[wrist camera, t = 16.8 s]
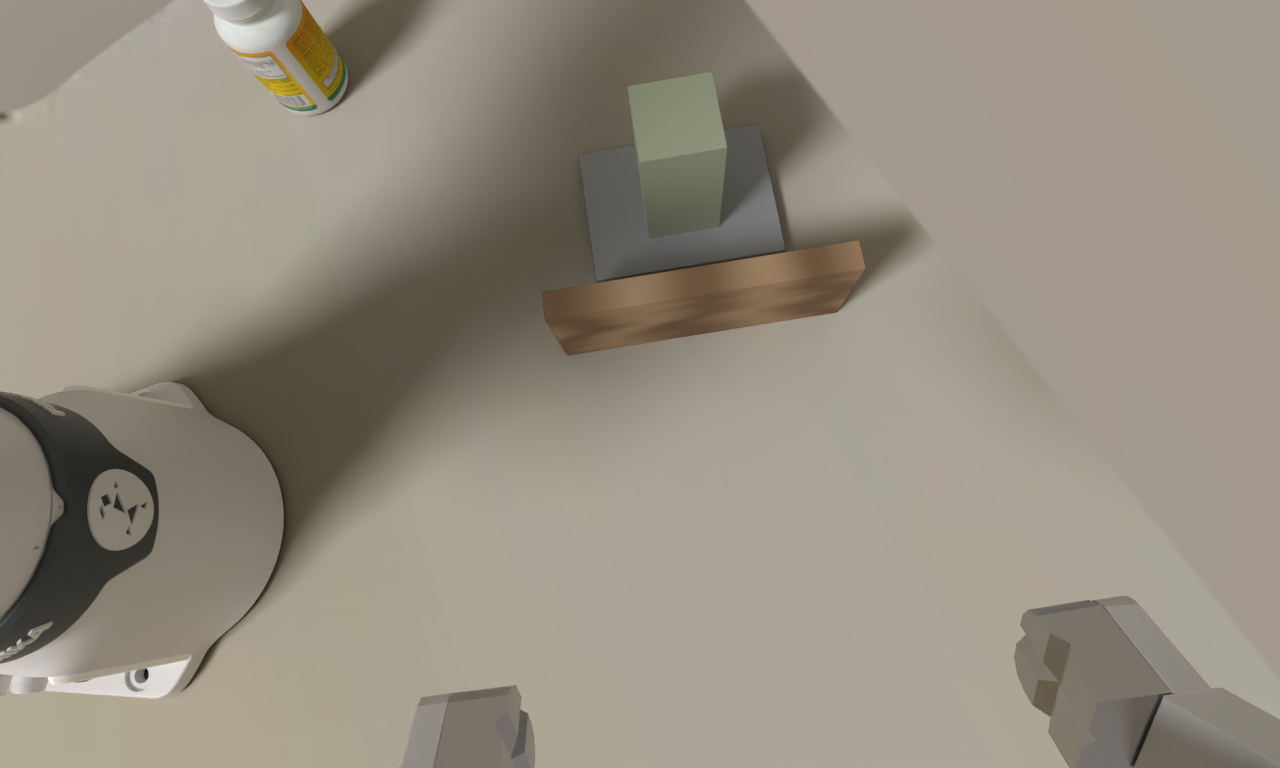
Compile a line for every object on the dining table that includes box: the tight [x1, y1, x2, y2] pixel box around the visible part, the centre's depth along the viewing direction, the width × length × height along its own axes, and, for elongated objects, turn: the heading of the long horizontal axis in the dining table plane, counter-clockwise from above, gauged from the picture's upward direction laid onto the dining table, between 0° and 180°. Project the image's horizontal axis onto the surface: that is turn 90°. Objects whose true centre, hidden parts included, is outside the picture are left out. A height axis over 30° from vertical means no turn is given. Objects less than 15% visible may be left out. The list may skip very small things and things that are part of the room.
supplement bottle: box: [203, 0, 348, 116], centre depth 44 cm, size 5×5×10 cm
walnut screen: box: [542, 240, 866, 355], centre depth 40 cm, size 17×2×7 cm, turn 98°
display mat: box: [578, 124, 785, 283], centre depth 45 cm, size 12×9×1 cm
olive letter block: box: [627, 72, 727, 238], centre depth 40 cm, size 4×5×9 cm
